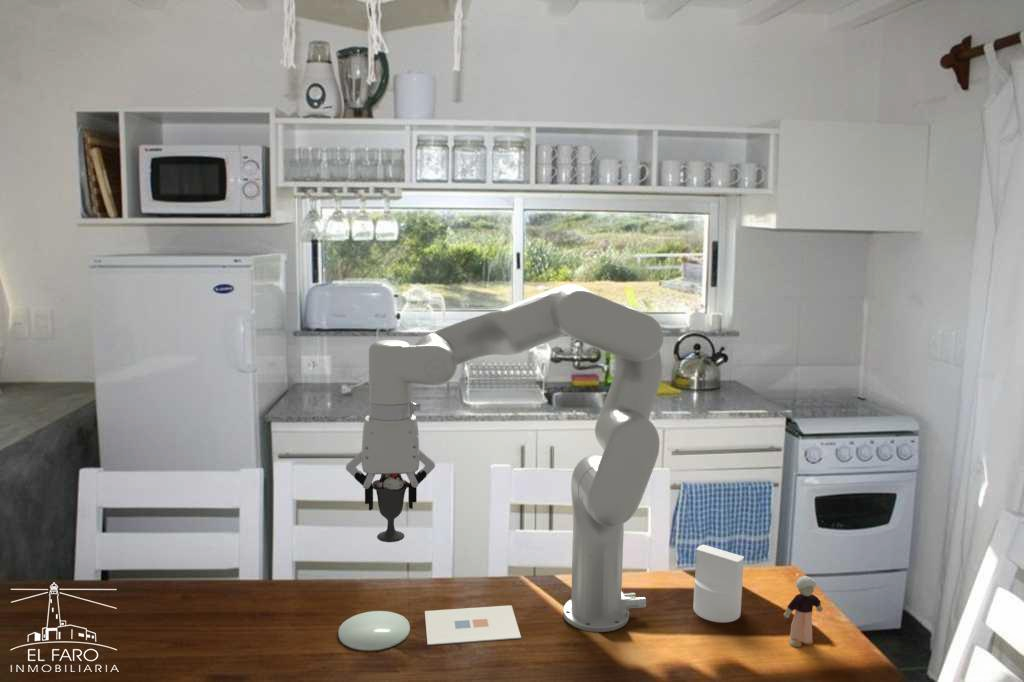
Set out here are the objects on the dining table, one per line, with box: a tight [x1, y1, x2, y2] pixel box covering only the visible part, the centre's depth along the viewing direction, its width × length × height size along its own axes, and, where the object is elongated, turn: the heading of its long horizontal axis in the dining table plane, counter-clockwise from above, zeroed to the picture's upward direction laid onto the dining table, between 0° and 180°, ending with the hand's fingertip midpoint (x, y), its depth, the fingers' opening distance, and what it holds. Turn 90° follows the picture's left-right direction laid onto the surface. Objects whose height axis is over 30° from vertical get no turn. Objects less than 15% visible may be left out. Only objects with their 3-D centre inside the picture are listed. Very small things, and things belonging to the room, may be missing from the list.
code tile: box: [424, 605, 522, 646], centre depth 153 cm, size 17×12×1 cm
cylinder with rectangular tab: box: [692, 544, 745, 623], centre depth 158 cm, size 9×9×12 cm
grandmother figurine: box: [783, 575, 823, 648], centre depth 147 cm, size 8×4×13 cm, turn 117°
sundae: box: [372, 473, 410, 543], centre depth 147 cm, size 7×7×15 cm
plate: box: [338, 610, 411, 652], centre depth 151 cm, size 13×13×1 cm
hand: (390, 505), depth 147 cm, fingers closed on sundae, 6 cm apart
